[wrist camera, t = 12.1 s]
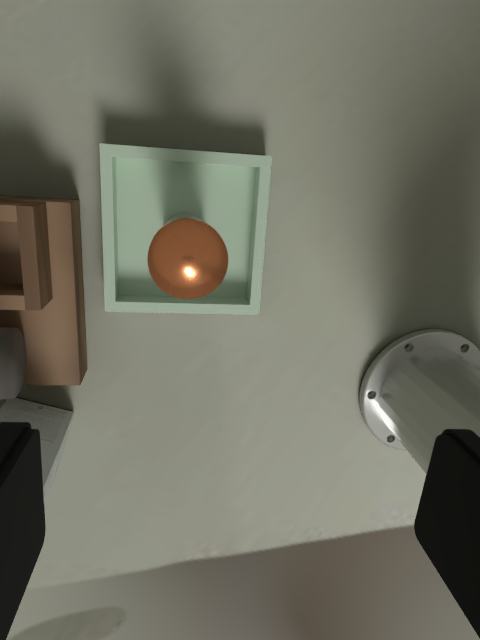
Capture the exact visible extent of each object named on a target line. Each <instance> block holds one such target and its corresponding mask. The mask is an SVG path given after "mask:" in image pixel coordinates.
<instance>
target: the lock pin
mask: <svg viewBox="0 0 480 640" xmlns="http://www.w3.org/2000/svg"><path fill="white" fill-rule="evenodd" d="M147 261H148V268H149V272H150V275H151V277H152V279H153V280H154V282H155V283H156V284H157V286H158V287H159V288H160V289H161V290H163V291H164V292H165V293H167V294H169V295H171V296H173V297H176V298H180V299H187V300H188V299H197V298H201V297H204V296H206V295H208V294H210V293H211V292H213V291H214V290H215V289H216V288H217V287H218V286H219V285H220V284H221V282H222V281H223V279H224V277H225V275H226V272H227V268H228V252H227V248H226V245H225V243H224V241H223V239H222V238H221V236H220V235H219V233H218V232H217V231H216V230H215V229H214V228H213V227H212V226H211V225H209V224H208V223H206V222H204V221H202V220H201V219H200V218H199V217H198V216H196V215H195V214H193V213H190V212H179V213H176V214H174V215H173V216H171V217H170V218H169V219H168V221H167V223H166V224H165V225H163V226H162V227H161V228H160V229H159V230H158V231H157V232H156V234H155V235H154V237H153V239H152V241H151V244H150V247H149V250H148V257H147Z"/></svg>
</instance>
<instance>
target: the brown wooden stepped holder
mask: <svg viewBox="0 0 480 640" xmlns="http://www.w3.org/2000/svg"><path fill="white" fill-rule="evenodd" d="M86 371H87V352H86V331H85V310H84V289H83V268H82V246H81V225H80V204H79V200H73V199H55V198H37V197H19V196H1V195H0V399H14V398H16V397H17V395H18V394H19V392H20V390H21V388H22V385H80V384H81V382H82V380H83V378H84V375H85V373H86Z"/></svg>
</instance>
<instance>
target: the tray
mask: <svg viewBox="0 0 480 640" xmlns="http://www.w3.org/2000/svg"><path fill="white" fill-rule="evenodd" d="M271 164H272V156H262V155H248V154H235V153H221V152H208V151H194V150H181V149H168V148H154V147H141V146H127V145H114V144H101V143H100V174H101V205H102V236H103V267H104V299H105V312H152V313H199V314H247V315H259V309H260V297H261V285H262V273H263V261H264V248H265V236H266V224H267V212H268V200H269V188H270V176H271ZM179 212H190V213H193V214H195V215H196V216H198V217H199V218H200V219H201V220H202V221H204V222H206V223H208V224H209V225H211V226H212V227H213V228H214V229H215V230H216V231H217V232H218V233H219V235H220V236H221V238H222V239H223V241H224V243H225V245H226V248H227V252H228V268H227V272H226V275H225V277H224V279H223V281H222V282H221V284H220V285H219V286H218V287H217V288H216V289H215V290H214V291H213V292H211V293H210V294H208V295H206V296H204V297H201V298H197V299H188V300H187V299H180V298H176V297H173V296H171V295H169V294H167V293H165V292H164V291H163V290H161V289H160V288H159V287H158V286H157V284H156V283H155V282H154V280H153V279H152V277H151V275H150V272H149V268H148V261H147V257H148V250H149V247H150V244H151V241H152V239H153V237H154V235H155V234H156V232H157V231H158V230H159V229H160V228H161V227H162V226H163V225H165V224H166V223H167V221H168V219H169V218H170V217H171V216H173V215H174V214H176V213H179Z"/></svg>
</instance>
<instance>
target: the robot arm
mask: <svg viewBox="0 0 480 640" xmlns="http://www.w3.org/2000/svg"><path fill="white" fill-rule="evenodd" d="M359 405H360V410H361V415H362V417H363V419H364V422H365V424H366V425H367V427H368V428H369V430H370V431H371V432H372V434H373V435H374V436H375V437H376V438H377V439H378V440H379V441H381V442H382V443H384V444H385V445H387V446H390V447H393V448H395V449H399V450H405V451H408V452H409V453H410V455H411V456H412V457H413V458H414V459H415V461H416V462H417V463H418V464H419V466H420V467H421V468H422V469H423V470H424V472H425V473H426V474H427V475H426V479H425V483H424V487H423V491H422V495H421V499H420V503H419V507H418V511H417V515H416V519H415V524H414V528H415V534H416V537H417V539H418V541H419V543H420V544H421V546H422V547H423V549H424V550H425V552H426V553H427V555H428V557H429V558H430V560H431V562H432V563H433V565H434V566H435V568H436V569H437V571H438V573H439V574H440V576H441V578H442V579H443V581H444V582H445V584H446V585H447V587H448V589H449V590H450V592H451V593H452V595H453V597H454V598H455V600H456V601H457V603H458V605H459V606H460V608H461V609H462V610H463V612H464V614H465V616H466V617H467V619H468V620H469V622H470V624H471V625H472V627H473V628H474V630H475V631H476V633H477V635H478V636H479V638H480V350H479V349H478V348H477V347H476V346H475V345H474V344H473V343H472V342H470V341H469V340H467V339H466V338H464V337H463V336H461V335H458V334H456V333H454V332H452V331H447V330H443V329H426V330H420V331H416V332H413V333H410V334H407V335H404V336H403V337H401V338H399V339H397V340H395V341H394V342H392V343H391V344H390V345H388V346H387V347H386V348H385V349H383V350H382V351H381V352H380V353H379V355H378V356H377V357H376V358H375V359H374V360H373V362H372V363H371V365H370V366H369V368H368V369H367V371H366V374H365V376H364V378H363V381H362V384H361V389H360V393H359ZM44 537H45V513H44V495H43V478H42V460H41V443H40V432H39V430H38V429H32V428H31V425H30V423H29V422H0V640H6V638H7V635H8V633H9V630H10V628H11V625H12V623H13V620H14V618H15V615H16V612H17V610H18V607H19V605H20V602H21V600H22V597H23V595H24V592H25V590H26V587H27V584H28V582H29V579H30V577H31V574H32V572H33V569H34V567H35V564H36V561H37V559H38V556H39V554H40V551H41V549H42V546H43V542H44Z"/></svg>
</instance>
